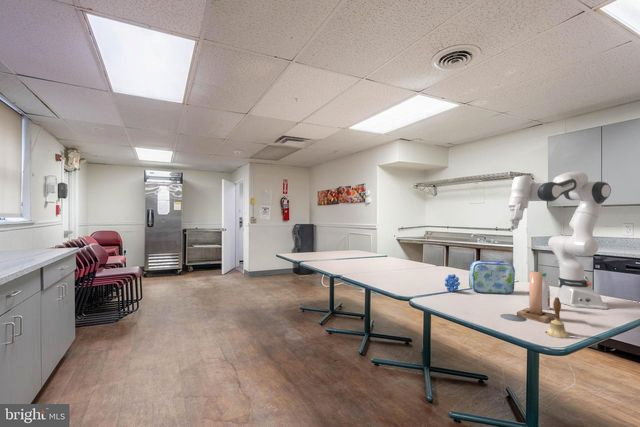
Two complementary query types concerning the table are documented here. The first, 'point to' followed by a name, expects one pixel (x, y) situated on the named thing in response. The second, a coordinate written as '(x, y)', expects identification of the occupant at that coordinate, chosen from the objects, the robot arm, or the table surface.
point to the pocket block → (536, 316)
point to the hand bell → (557, 323)
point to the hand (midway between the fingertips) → (514, 229)
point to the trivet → (513, 317)
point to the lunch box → (492, 277)
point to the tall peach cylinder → (535, 293)
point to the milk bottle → (545, 293)
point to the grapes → (452, 283)
